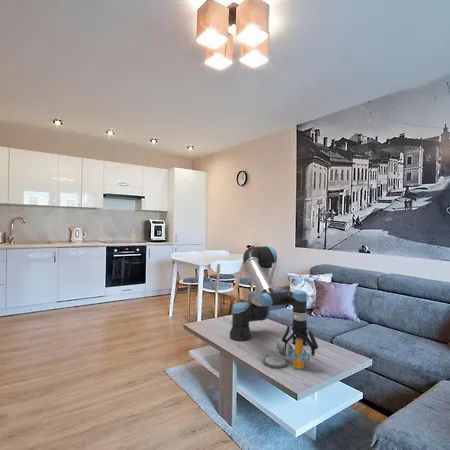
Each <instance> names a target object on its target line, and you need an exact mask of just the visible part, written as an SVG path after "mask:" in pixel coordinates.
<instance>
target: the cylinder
mask: <svg viewBox="0 0 450 450" xmlns="http://www.w3.org/2000/svg"><path fill="white" fill-rule="evenodd" d="M294 346H295V349H294V350H295V351H294V350H292V349H290V350H289V351H288V356H289V357H290V359H291V360H292V361H293V362H292V366H293V368H294V369H298V370H302V369H304V368H305V361H310V353H308V352H306V349H304V346H303V339H301V338H296V340H295V345H294ZM290 351H293V352H294V353H291V354H290V353H289V352H290ZM306 355H307V356H308V358H305V357H306Z"/></svg>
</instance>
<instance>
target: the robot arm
mask: <svg viewBox="0 0 450 450" xmlns="http://www.w3.org/2000/svg"><path fill="white" fill-rule="evenodd" d="M277 261H278V254H277V251H276V249H275V248H274V247H273V246H268V245H265V246H264V245H263V246H251V247H248V248H247V249H246V250H244V253H243V255H242V262H243V265H244V267H245V268H246V269H248V271H249V274H250V275H251V277H252V279H253V282H254V283H255V287H254V296H253V299H251V302H250V303H249V302H247V301H239V302H237V303H234V304H233V305H232V310H231V312H232V314H231V315H232V319H231V320H232V321H231V322H232V323H231V324H232V325H231V328H230V331H229V332H230V333H229V339H230V340H233V341H237V342H238V341H239V342H245V341H250V340H251V339H252V331H251V329H250V323H251V322H256V321H257V322H258V321H260V322H262V321H265V320H268V319H269V317H270V315H271V307H276V306H285V305H286V306H288V305H289V306H292V326H291V324H290V325H287V326H286V330H285V333H284V335H283V336H282V338H281V339H282V342H284V343H285V349H286V355H285V356H287V357H288V356H289V355H288V351H289V343H290V342H289V341H291V339H292V337H293V336H299V337H303V338H304V339H305V340H306V344H307V345H308V346H309V348H310V349H309V355H310V359H309V362H310V363H312V362H313V361H314V356H315V354H316V350H318V348H319V345H318V342H317V341H316V337H315V335H314V333H313V332H314V331H313V329H308V327H307V326H308V323H307V322H308V321H307V319H308V318H307V317H308V316H307V315H308V313H307V310H308V309H307V308H308V305H307V304H308V303H307V302H308V298H307V297H308V296H307V295H308V294H307V292H306V291H305V290H298V289H296V290H293V291H291V290H289V289H284V290H282V291H275V290H274V288H272V286H271V283H270V282H269V280H270V279H269V278H270V272H271V269H272V268H273V266H274V264H275V263H277ZM291 331H292V332H293V333H291ZM289 333H291V334H290V335H289ZM306 333H307V334H308V336H307V334H306ZM287 337H288V338H287Z"/></svg>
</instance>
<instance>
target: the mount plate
mask: <svg viewBox="0 0 450 450" xmlns="http://www.w3.org/2000/svg"><path fill="white" fill-rule="evenodd" d="M288 361H289V360H288V359H287V358H285V357H283V356H281V355H275V354H274V355H267V356H264V357H263V358H262V364H263V365H264V366H266V367H268V368H272V369H284V368H286V367H288V364H289V362H288Z"/></svg>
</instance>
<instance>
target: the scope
mask: <svg viewBox="0 0 450 450" xmlns="http://www.w3.org/2000/svg"><path fill="white" fill-rule="evenodd" d="M292 333H293V331H292ZM292 333H291V334H292ZM306 334H307V336H308V337H309V334H308V333H306ZM296 338H301V339H303V347H304V346H306V344H307V342H306V340H305V339H304V338H303V337H299V336H296V335H294V336H293V337H292V338H291V339H290V341H291V345H292V346H295V340H296Z"/></svg>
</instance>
